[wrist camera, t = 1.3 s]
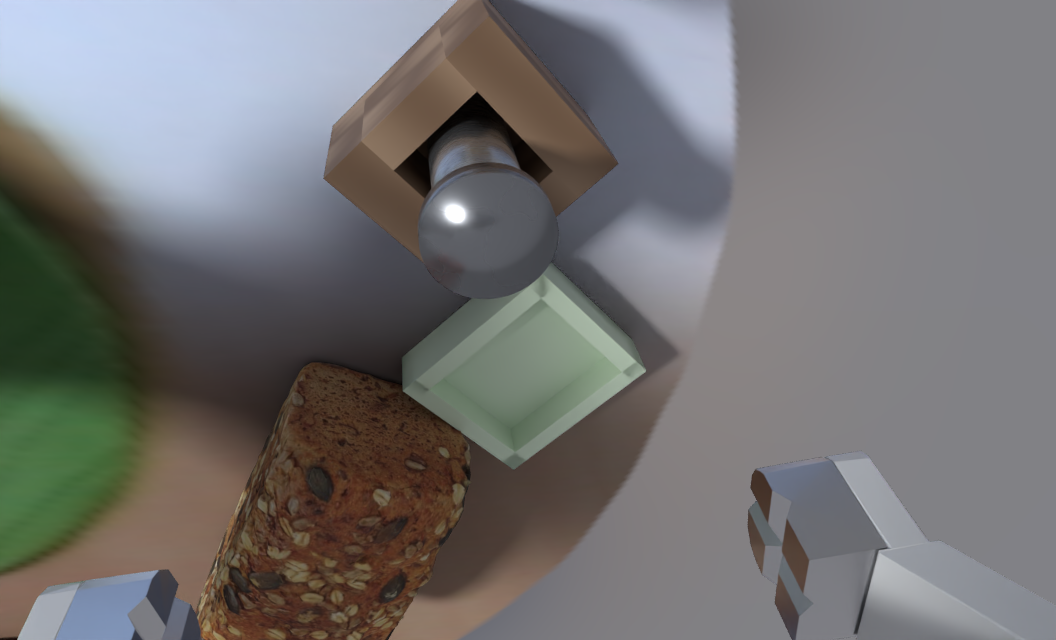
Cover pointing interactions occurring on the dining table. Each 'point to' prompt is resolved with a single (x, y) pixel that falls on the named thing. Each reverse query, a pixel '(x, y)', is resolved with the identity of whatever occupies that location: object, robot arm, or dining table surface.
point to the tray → (521, 366)
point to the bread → (337, 514)
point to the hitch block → (435, 95)
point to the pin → (483, 209)
